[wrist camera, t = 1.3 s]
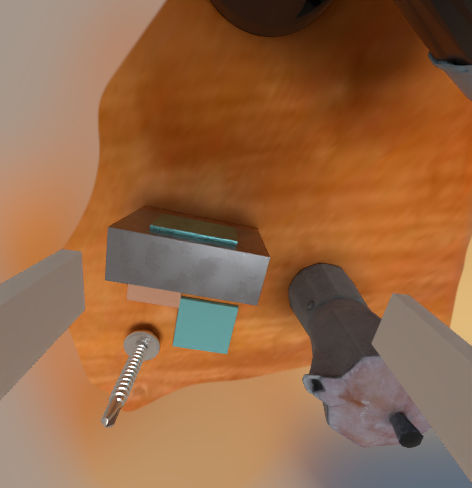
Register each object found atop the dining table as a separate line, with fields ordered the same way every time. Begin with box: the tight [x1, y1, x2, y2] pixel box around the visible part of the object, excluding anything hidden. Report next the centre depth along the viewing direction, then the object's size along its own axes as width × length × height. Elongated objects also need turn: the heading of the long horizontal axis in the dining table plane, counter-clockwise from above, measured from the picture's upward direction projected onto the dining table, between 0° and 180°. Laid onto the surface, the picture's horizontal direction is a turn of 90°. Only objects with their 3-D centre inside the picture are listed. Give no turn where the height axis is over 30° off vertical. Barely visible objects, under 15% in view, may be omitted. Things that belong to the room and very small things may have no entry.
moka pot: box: [289, 263, 431, 448], centre depth 26 cm, size 10×15×20 cm, turn 79°
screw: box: [101, 329, 160, 427], centre depth 30 cm, size 13×5×5 cm
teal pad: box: [173, 296, 238, 354], centre depth 36 cm, size 8×8×1 cm
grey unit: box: [105, 206, 270, 305], centre depth 27 cm, size 5×14×10 cm, turn 78°
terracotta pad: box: [127, 284, 182, 308], centre depth 33 cm, size 7×7×1 cm
